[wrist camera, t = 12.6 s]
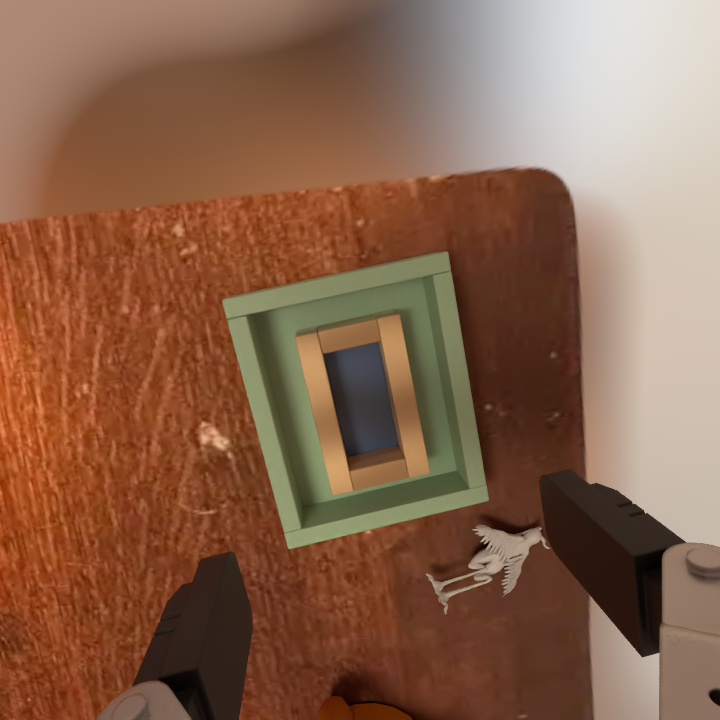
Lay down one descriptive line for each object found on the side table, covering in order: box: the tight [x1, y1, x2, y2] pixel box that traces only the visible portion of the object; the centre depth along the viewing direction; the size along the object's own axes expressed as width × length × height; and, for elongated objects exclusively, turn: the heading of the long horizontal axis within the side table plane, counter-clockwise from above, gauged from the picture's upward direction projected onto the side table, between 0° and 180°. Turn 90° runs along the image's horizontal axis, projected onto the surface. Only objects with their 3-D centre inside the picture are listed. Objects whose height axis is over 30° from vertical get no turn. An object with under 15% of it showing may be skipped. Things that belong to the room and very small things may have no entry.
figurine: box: [426, 525, 550, 614], centre depth 30 cm, size 6×2×8 cm
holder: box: [222, 251, 489, 549], centre depth 27 cm, size 14×12×3 cm
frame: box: [295, 310, 430, 496], centre depth 27 cm, size 9×6×2 cm, turn 12°
